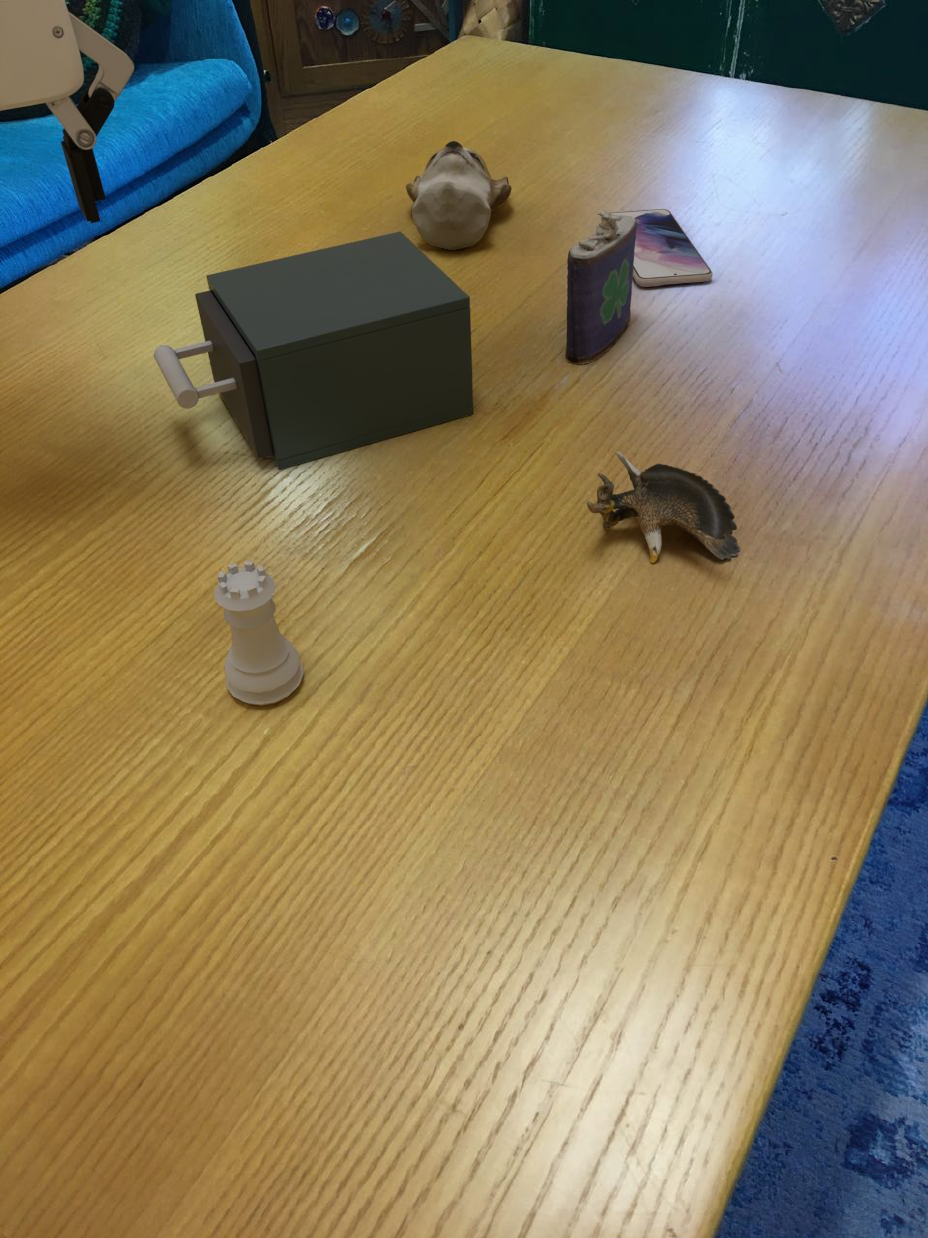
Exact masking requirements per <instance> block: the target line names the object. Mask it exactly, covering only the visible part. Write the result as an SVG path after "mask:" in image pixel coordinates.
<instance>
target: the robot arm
mask: <svg viewBox="0 0 928 1238" xmlns="http://www.w3.org/2000/svg"><path fill="white" fill-rule="evenodd" d="M81 53H82V54H84V55H85V56H87V57H88V58H89V59H91V60H92V61H93V62H94V63H96V64H97V65H98V70H97V73H96V74H95V78H94V80H93V81H92V83H90V84H89V85H88V86H87V88H86V90H85V91H84V92H83V94H82V96H81V98H80V100H79V101H78V103H77V105H76V103H75V102H74V101H73V99H72V98H71V96H72V95H74V94H75V93H76V92H78V91H79V90H80V89H81V88H82V86H83V85H84V81H85V73H84V66H83V61H82V60H83V59H82V56H81ZM134 71H135V64H134V62H133V60H132V59H131V58H130V57H129V56H128V54H127V53H126V52H124V51H123V50H121V49H120V48H119V47H117V46H116V45H115V44H114V43H112V42H110V40H108V39H107V38H105V37H104V36H103V35H101V34H100V33H98V31H96V30H94V29H93V28H91V26H89V25H88V24H86V23H85V22H84V21H82V20H81V19H79V18H78V17H77V16H75V14H73V13H71V12H70V11H69V9H68V7H67V4H66V0H0V112H1V111H6V110H12V109H18V108H19V109H20V108H23V107H31V106H35V105H40V104H45V105H46V106H47V108H48V109H49V110H50V111H51V113H52V115H54V116H55V118H56V119H57V121H58V122H59V124H60V125H61V126H62V127H63V128H62V135H63V136H62V139H63V140H61V141H60V145H61V148H62V151H63V155H64V158H65V162H66V166H67V169H68V172H69V176H70V180H71V183H72V187H73V191H74V194H75V198H76V201H77V204H78V207H79V209H80V211H81V213H82V214H83V217H84V219H85V220H86V222H87V223H88V222H90V223H91V224H95V223H99V222H101V217H100V214H99V210H98V207H97V202H100V201H101V202H102V201H105V200H106V194H105V190H104V186H103V182H102V179H101V175H100V171H99V168H98V163H97V159H96V155H95V151H94V147H95V146H96V144H97V139H98V138H97V137H98V135H99V133H100V131H101V130H102V128H103V127H104V125H105V123H106V122H107V120H108V118H109V117H110V115H111V113H112V112H113V110H114V108H115V104H116V103H115V102H116V101H117V99H118V97H120V96H121V94H122V92H123V91H124V88H125V87H126V86H127V84H128V82H129V81H130V79H131V77H132V75H133V74H134Z"/></svg>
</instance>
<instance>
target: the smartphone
mask: <svg viewBox="0 0 928 1238" xmlns="http://www.w3.org/2000/svg"><path fill="white" fill-rule="evenodd" d="M609 213H610V214H614V215H627V216H632V217H633V218H635V219H636V221H637V229H636V240H635V251H634V264H633V277H632V278H633V279H634V281H635V282H636V284H637V285H638V286H640V287H642V288H648V287H651V288H652V287H661V286H665V285H675V284H676V285H677V284H691V283H703V282H709V281H710V280H712V278H713V275H714V274H713V270H711V268H710V266H709V265H708V264H707V262H706V261H705V259H704V258H703V257H702V255H701V253H700V252H699V251H698V249H697V248H696V246H695V245H694V243H693V242H692V240H691V239H690V238H689V236H688V235H687V234H686V232H685V231H684V229H683V228H682V227H681V225H680V224H679V222H678V221H677V219H676V218H675V216H674V215H673V214H672V212H671V211H670V210H669V209H667V208H654V209H641V210H629V211H627V210H626V211H614V212H613V211H612V212H609ZM600 220H601V222H602V221H603V219H602V217H601V216H600Z"/></svg>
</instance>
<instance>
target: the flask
mask: <svg viewBox="0 0 928 1238" xmlns="http://www.w3.org/2000/svg"><path fill="white" fill-rule="evenodd" d="M610 213H611V212H607V211H606V210H602V211H597V212H596V215H597V216H599V217H600V218H601V217H602V219H603V221H601V222H600V223H599V224H598V226H597V227H596V229H595V233H594V234H593V235H591V236H590V237H587V238H586V239H585V240H582V239H580V240H578V243H576V244H573V246H571V248H570V249H569V250H568V253H567V259H566V261H567V262H566V263H567V268H566V269H567V275H566V278H567V280H566V284H567V285H566V286H567V288H566V297H567V298H566V348H565V359H566V362H567V363H572V364H574V365H585V364H589V363H591V362H593V361H595V360H597V359H598V358H600V357H601V356H603V355H604V354H606V352H608V351H610V349H612V347H613V346H614V345H615V344H617V343H616V342H617V341H618V340H619V339H620V338H621V337H622V335H623V334H624V333H625V332H626V331H627V329H628V327H629V324H630V320H631V311H632V310H631V303H632V295H633V278H634V277H633V264H634V251H635V240H636V229H637V221H636V219H635V218H633V217H632V216H627V215H614V214H610Z"/></svg>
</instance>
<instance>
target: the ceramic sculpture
mask: <svg viewBox="0 0 928 1238" xmlns="http://www.w3.org/2000/svg"><path fill="white" fill-rule="evenodd" d="M405 189H406V192H407V195H408V197H409V199H410V200H411V201H412V203H413V205H412V207H411V215H412V216H411V217H412V220H413V223H414V226H415V228H416V230H417V232H418V234H419V235H420V236H421V238H422V239H423V240H424V242H426V244H428V245H430V246H432V247H438V248H441V249H443V248H444V249H443V250H447V249H448V251H457V250H461V249H464V247H465V248H469V247H473V246H475V245H476V244H477V243H478V242H480V240H482V238H483V236H484V234H485V233H486V231H487V229H488V227H489V224H490V220H491V216H492V211H494V210H496V209H497V208H500V207H502V206H503V205H504V204H505V203H507V200H508V199H509V197H510V195H511V194H512V190H513V189H512V186H511V185H510V181H509V177H508V176H504V177H502V178H498V179H493V178H492V176H491V173H490V171H489V169H488V166H487V163H486V161H485V159H484V158H483V157H482V156H481V155H480V154H479V153H478V152H477V151H476V150H474V149H471V148H467V147H463V145H462V144H461V143H460V142H459V141H456V140H451V141H449V142H447V143H446V144H445V146H444V147H443V148H442V149H439V150H437V151H436V152H435V153H434V154H433V155H431V156H430V158H429V159H428V160H427V163H426V165H425V168H424V171H423V173H422V174H421V176H419V175H416V176H415V178H414V180H413V183H411V182H409V183H406V185H405ZM456 249H457V250H456Z"/></svg>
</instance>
